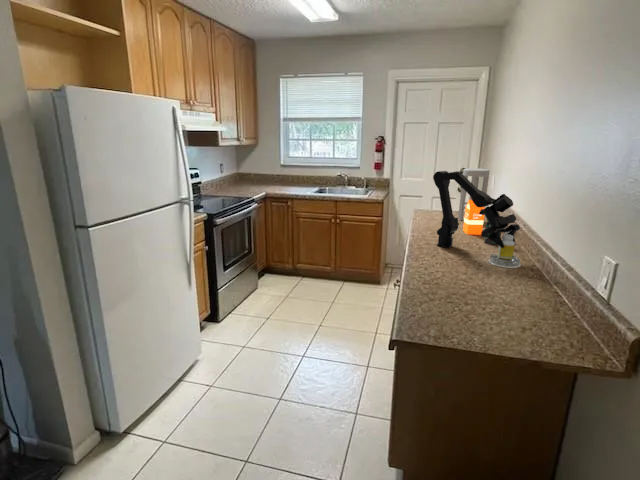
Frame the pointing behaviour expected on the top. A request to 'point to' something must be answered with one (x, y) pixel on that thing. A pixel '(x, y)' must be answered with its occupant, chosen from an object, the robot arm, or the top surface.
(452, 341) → the top surface
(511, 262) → the steel ashtray
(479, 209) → the orange juice
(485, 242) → the coffee box
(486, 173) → the stool
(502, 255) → the pill bottle
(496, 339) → the top surface
